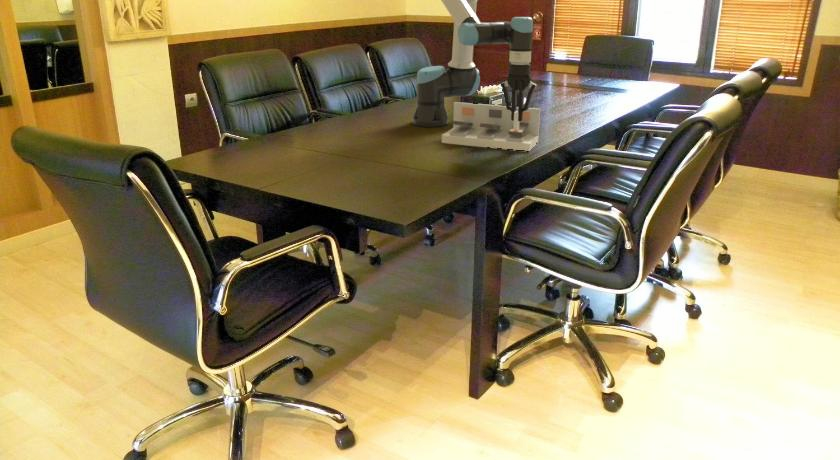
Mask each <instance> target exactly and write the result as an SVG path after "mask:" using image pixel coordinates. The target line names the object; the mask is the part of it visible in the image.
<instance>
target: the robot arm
mask: <svg viewBox="0 0 840 460" xmlns="http://www.w3.org/2000/svg"><path fill="white" fill-rule="evenodd" d="M440 1H441V2H442V4H443V5H444V7H445V8H446V11H448V13H449V15H450V16H451V18H452V19H453V34H452V35H453V38H452V49H451V50H452V51H451V54H452V55H451V60H450V61H449V62H448V63H447V68H445V67H444V65H432V66H426V67H423V68H421V69H419V70H418V71H417V73H416V106H415V110H414V113H413V117H412V124H413V125H415V126H417V127H418V126H419V127H428V128H437V127H443V126H447V125H448V124H449V116H448V114H447V110H446V106H445V99H446V98H455V97H458V98H459V97H462V98H463V97H467V96H469V97H470V96H472V95H473V94H474V93H476V92H478V89H479V86H480V83H481V76H480V70H479V69H478V68H477V67H476V64H475V62H474V61H473V56H474V46H481V45H502V44H504V45H505V44H507V45H509V55H508V56H509V59H508V60H509V61H508V62H509V64H508V76H507V78H506V80H505V81H503V82H501V83H500V87H501V89H503V92H504V97H505V103H506V108H507V110H510V111H511V120H512V121H514V126H513V130H519V122H520V121H522V117H523V111H526V110H528V108H530V107H529V106H530V105H531V102H532V101H531V100H532V97H533V93H534V91H535V89H537V87H538V84H537V83H534V82H532V79H531V62H532V47H533V37H534V36H533V34H534V19H533V18H532V17H531V16H514V17H512V18H511V21H508V20H500V21H493V22H492V21H491V22H488V21H487V22H484V21H483V22H481V20H480V18H479V17H478V16H477V4H478V3H477V2H478V1H479V0H440ZM509 86H510V87H509ZM527 87H528V88H529V90H528V93H527V97H526V99H525V92H526V89H527ZM508 88H512V106H511V101H510V96H509V90H508ZM518 90H519V108H518V111H516V110H517V109H516V104H517V91H518ZM524 101H525V103H524ZM523 107H524V108H523Z"/></svg>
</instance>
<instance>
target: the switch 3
mask: <svg viewBox="0 0 840 460" xmlns="http://www.w3.org/2000/svg"><path fill="white" fill-rule="evenodd" d="M513 126H514V125H513ZM513 126H512V128H511V129H510V130H509V135H517V136H522V135H523V134H524V132H525V131H526V129H527V128H528V126H529V123H521V122H519V130H513Z"/></svg>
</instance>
